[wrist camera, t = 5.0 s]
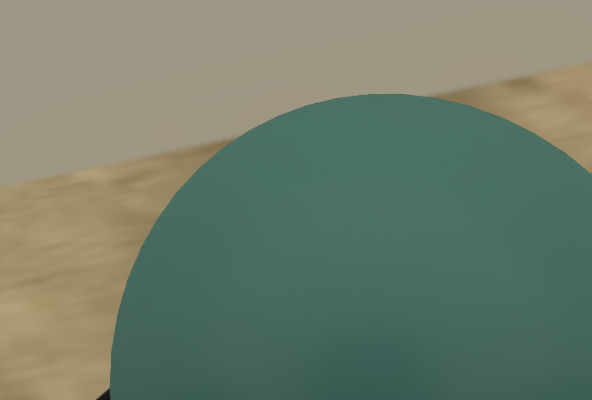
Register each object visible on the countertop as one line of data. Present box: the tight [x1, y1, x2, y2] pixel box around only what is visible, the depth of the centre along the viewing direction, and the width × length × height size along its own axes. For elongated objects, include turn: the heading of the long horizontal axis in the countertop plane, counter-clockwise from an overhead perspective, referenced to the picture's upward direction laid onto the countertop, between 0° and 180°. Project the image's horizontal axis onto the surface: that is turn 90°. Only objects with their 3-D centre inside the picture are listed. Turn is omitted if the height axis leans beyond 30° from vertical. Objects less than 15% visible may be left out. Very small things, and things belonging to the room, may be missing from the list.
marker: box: [110, 94, 592, 400], centre depth 9 cm, size 4×4×13 cm
